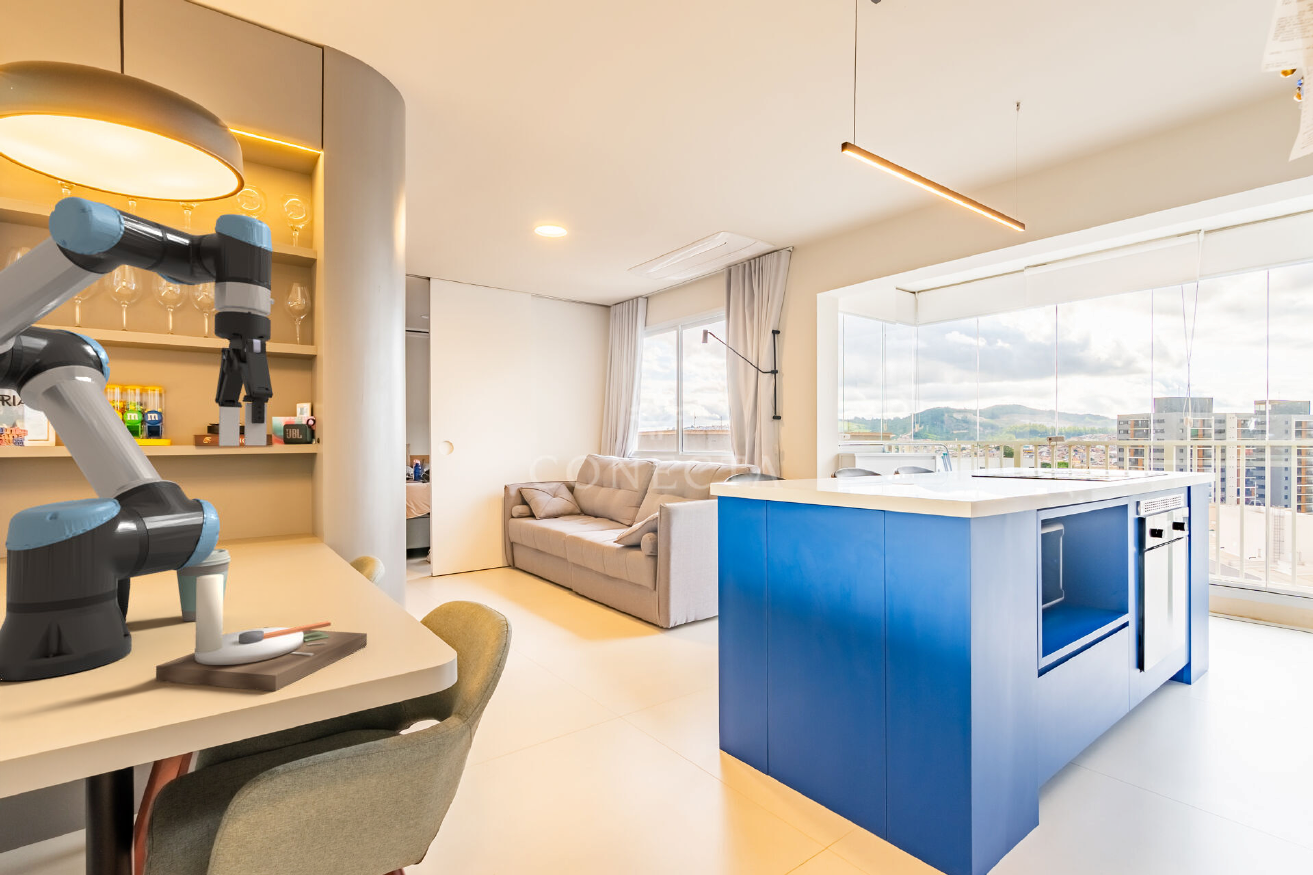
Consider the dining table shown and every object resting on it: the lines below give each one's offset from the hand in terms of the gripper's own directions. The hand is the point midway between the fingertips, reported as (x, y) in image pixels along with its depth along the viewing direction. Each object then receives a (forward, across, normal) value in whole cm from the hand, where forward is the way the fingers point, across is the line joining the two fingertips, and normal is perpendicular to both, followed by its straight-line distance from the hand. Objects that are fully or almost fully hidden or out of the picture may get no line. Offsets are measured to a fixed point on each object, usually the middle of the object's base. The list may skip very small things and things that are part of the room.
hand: (241, 445), depth 97 cm
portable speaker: (+32, +29, +13) cm, 45 cm away
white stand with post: (+29, -13, 0) cm, 32 cm away
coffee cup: (+32, +23, 0) cm, 40 cm away
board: (+32, -13, 0) cm, 34 cm away
